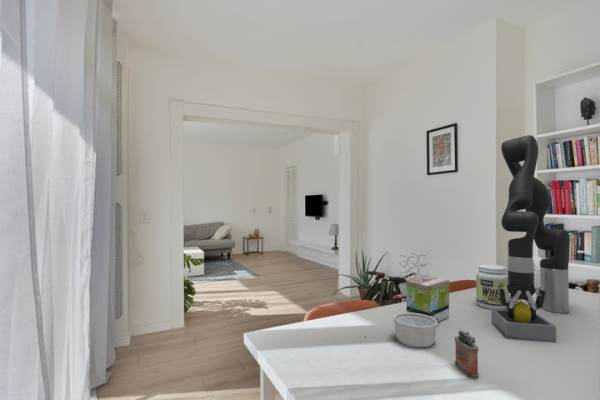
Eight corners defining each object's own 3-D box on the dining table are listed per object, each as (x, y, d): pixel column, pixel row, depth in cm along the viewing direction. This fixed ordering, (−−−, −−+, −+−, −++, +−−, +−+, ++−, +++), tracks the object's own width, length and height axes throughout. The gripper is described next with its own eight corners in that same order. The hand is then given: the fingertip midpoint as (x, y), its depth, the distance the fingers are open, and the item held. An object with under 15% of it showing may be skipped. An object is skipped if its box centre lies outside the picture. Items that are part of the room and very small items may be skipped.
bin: (491, 323, 120) (491, 309, 120) (535, 326, 117) (535, 312, 117) (506, 338, 106) (506, 323, 106) (556, 342, 103) (555, 326, 103)
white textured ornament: (526, 295, 156) (525, 259, 156) (506, 289, 166) (505, 255, 166) (553, 291, 161) (552, 257, 161) (532, 286, 171) (531, 253, 172)
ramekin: (436, 335, 109) (435, 314, 109) (439, 352, 97) (438, 329, 97) (394, 330, 114) (394, 310, 114) (392, 346, 101) (392, 323, 101)
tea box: (431, 327, 116) (430, 285, 116) (405, 320, 124) (405, 280, 124) (450, 317, 126) (449, 279, 126) (425, 311, 134) (425, 275, 134)
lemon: (526, 322, 114) (526, 299, 114) (534, 328, 108) (534, 304, 108) (509, 321, 115) (508, 298, 115) (516, 327, 109) (515, 303, 109)
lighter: (451, 363, 90) (451, 327, 90) (463, 362, 90) (463, 326, 90) (469, 379, 82) (468, 339, 82) (482, 378, 82) (481, 338, 82)
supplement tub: (477, 308, 136) (477, 268, 137) (474, 300, 148) (474, 263, 148) (512, 312, 132) (511, 270, 132) (506, 303, 143) (505, 264, 143)
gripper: (539, 268, 114) (540, 317, 114) (493, 266, 117) (494, 314, 117) (550, 272, 106) (551, 324, 106) (501, 271, 110) (502, 321, 110)
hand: (521, 318), depth 112 cm, fingers closed on lemon, 5 cm apart
